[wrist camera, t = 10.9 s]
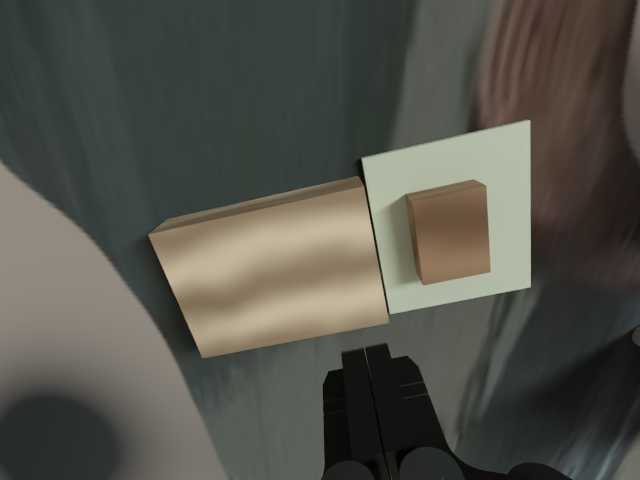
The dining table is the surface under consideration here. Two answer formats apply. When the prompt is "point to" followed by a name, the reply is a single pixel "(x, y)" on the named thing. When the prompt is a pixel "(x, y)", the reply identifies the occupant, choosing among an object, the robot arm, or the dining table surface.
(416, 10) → the dining table surface
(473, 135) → the sage mat
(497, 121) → the dining table surface
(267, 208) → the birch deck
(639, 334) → the hip flask
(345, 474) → the robot arm
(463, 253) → the walnut tile
